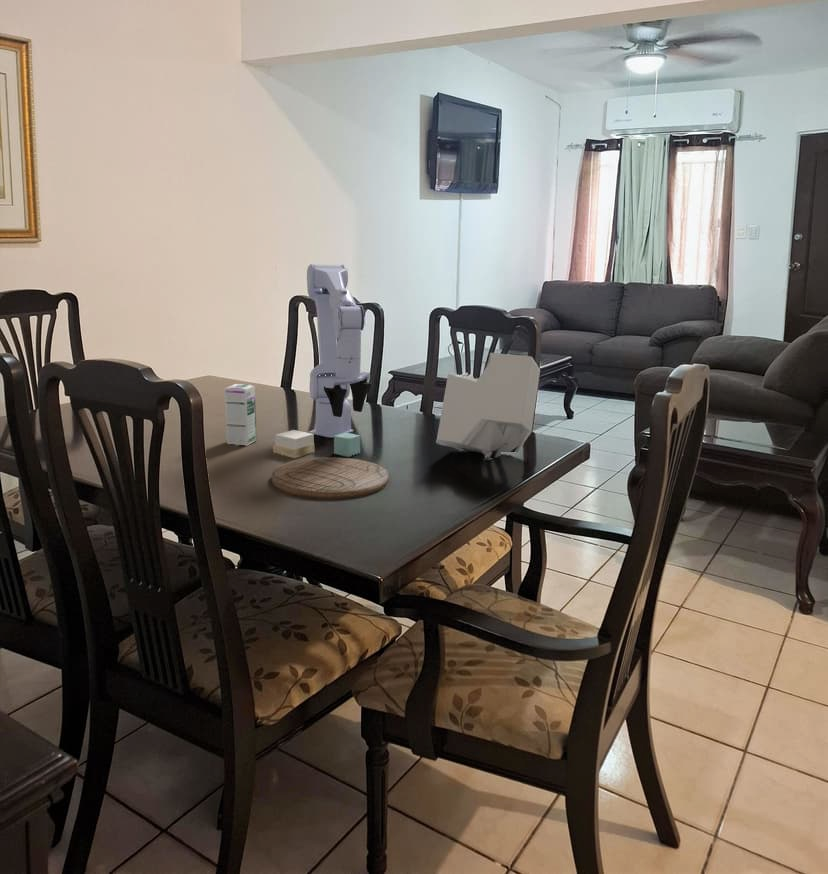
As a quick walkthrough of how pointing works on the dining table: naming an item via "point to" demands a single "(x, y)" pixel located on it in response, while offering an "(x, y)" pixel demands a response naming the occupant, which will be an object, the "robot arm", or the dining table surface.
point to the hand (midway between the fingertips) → (347, 413)
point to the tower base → (294, 450)
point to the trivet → (329, 478)
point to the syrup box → (240, 414)
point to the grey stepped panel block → (490, 406)
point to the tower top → (294, 439)
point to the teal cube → (346, 444)
